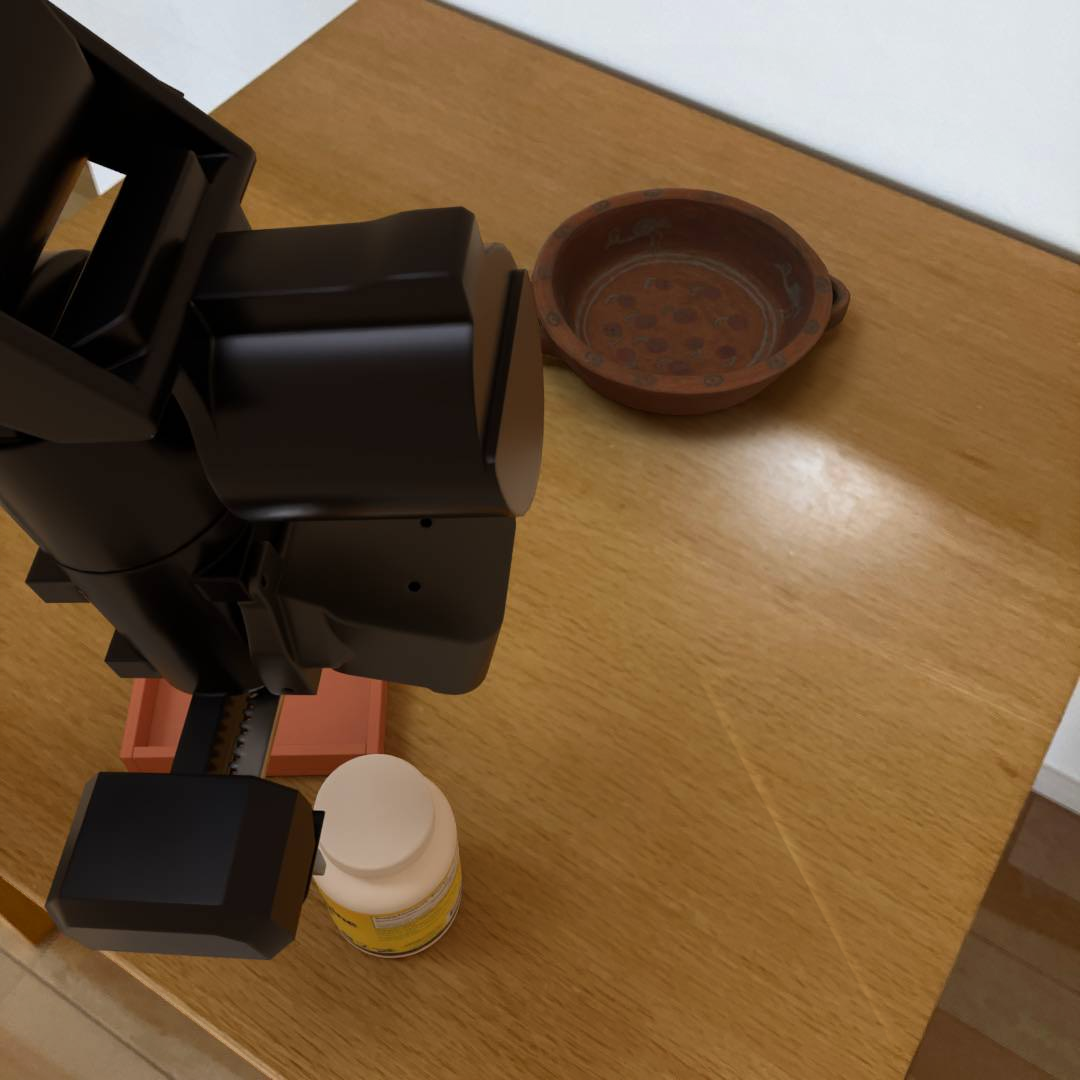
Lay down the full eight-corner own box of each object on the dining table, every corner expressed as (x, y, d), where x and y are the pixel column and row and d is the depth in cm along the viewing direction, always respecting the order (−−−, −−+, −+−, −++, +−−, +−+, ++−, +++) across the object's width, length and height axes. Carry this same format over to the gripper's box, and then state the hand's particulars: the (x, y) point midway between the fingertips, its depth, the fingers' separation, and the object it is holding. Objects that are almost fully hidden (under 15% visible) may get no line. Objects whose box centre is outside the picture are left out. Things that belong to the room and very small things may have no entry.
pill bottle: (313, 856, 55) (273, 765, 46) (437, 810, 56) (423, 712, 47) (351, 984, 52) (317, 913, 42) (481, 932, 53) (475, 852, 44)
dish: (878, 430, 70) (901, 375, 66) (514, 460, 68) (514, 405, 64) (807, 233, 79) (823, 173, 75) (486, 254, 78) (485, 195, 73)
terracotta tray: (133, 778, 57) (118, 758, 55) (165, 599, 62) (153, 574, 60) (383, 774, 57) (378, 754, 55) (392, 596, 63) (388, 572, 61)
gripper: (384, 859, 22) (533, 1037, 34) (500, 201, 32) (582, 523, 45) (-126, 839, 24) (189, 1013, 37) (135, 229, 34) (311, 529, 47)
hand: (338, 742), depth 41 cm, fingers open, 9 cm apart
